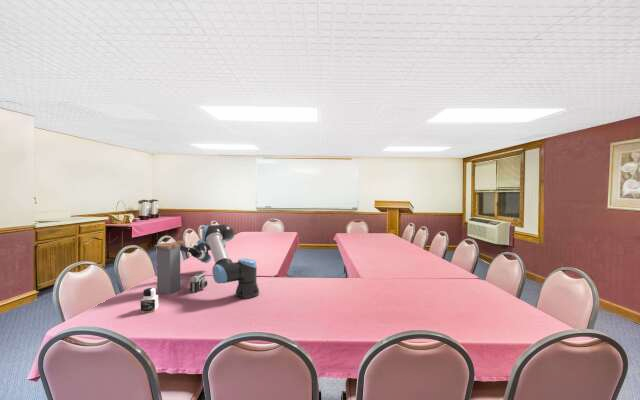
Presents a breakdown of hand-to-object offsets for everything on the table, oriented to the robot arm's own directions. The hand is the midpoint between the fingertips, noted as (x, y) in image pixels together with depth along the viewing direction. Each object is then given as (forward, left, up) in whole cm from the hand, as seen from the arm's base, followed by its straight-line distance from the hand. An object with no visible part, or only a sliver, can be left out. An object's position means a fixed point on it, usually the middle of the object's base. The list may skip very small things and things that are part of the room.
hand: (182, 243), depth 209 cm
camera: (-17, -13, -30) cm, 37 cm away
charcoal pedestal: (-13, +7, -29) cm, 33 cm away
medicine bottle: (-45, +12, -30) cm, 55 cm away
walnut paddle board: (-10, +5, +1) cm, 11 cm away
